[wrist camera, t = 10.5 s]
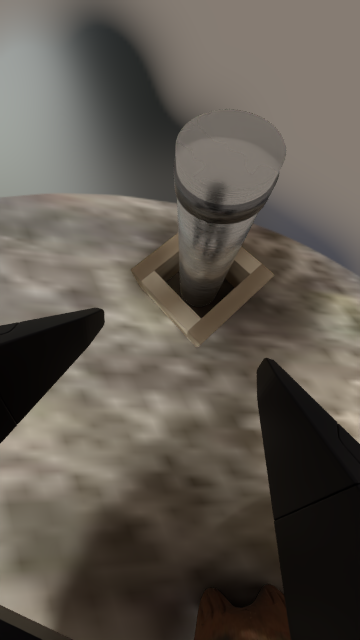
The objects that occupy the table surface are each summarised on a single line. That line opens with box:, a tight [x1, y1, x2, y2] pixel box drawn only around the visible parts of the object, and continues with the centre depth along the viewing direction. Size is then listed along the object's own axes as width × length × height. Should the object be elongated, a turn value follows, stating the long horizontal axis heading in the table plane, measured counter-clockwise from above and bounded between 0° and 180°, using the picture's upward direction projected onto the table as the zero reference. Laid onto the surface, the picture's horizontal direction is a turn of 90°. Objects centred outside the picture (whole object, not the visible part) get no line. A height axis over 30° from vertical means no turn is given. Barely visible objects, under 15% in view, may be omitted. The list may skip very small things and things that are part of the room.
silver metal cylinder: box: [174, 109, 286, 307], centre depth 12 cm, size 4×4×12 cm
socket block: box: [131, 233, 274, 348], centre depth 17 cm, size 9×9×4 cm
